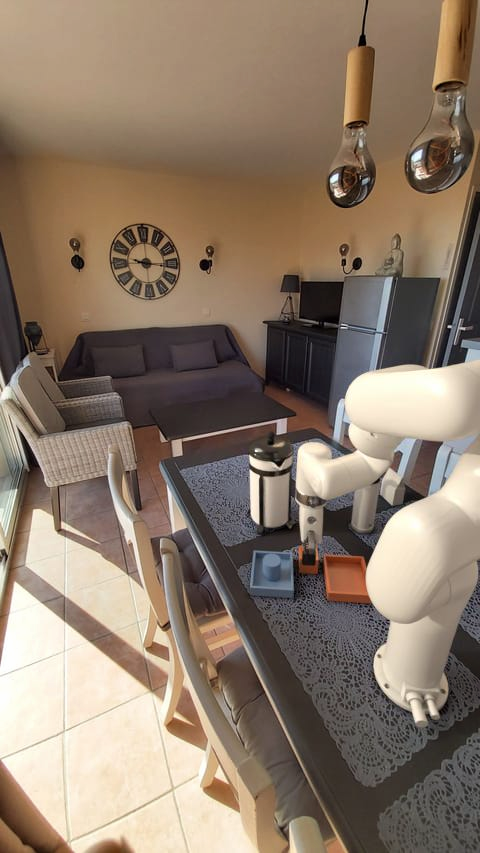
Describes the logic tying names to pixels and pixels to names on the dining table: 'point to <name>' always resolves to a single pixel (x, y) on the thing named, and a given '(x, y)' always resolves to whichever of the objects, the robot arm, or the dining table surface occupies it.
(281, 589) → the blue tray
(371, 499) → the travel mug
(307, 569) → the terracotta block
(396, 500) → the white gabled block
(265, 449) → the coffee press
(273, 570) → the blue cylinder
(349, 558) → the terracotta tray
